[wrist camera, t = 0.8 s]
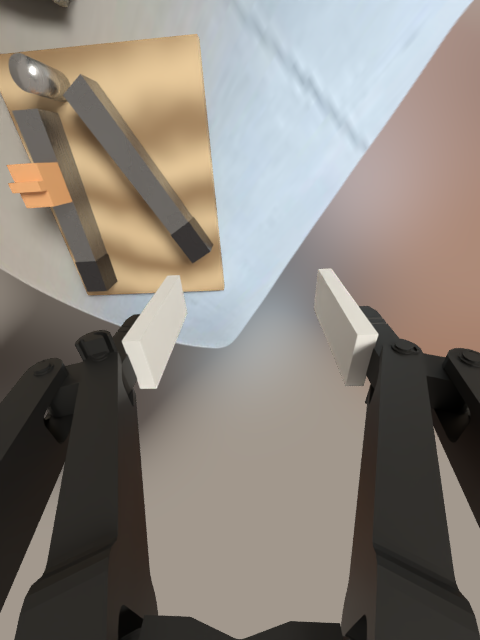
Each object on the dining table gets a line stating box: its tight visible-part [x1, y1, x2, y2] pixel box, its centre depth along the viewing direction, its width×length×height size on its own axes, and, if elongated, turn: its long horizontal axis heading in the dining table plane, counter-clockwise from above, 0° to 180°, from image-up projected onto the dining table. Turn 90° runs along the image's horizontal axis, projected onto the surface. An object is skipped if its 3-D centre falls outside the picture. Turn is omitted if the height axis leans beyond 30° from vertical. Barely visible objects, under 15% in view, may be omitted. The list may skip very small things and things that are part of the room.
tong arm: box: [63, 74, 214, 263], centre depth 27 cm, size 18×3×3 cm, turn 33°
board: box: [0, 34, 224, 295], centre depth 30 cm, size 25×20×1 cm
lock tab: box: [7, 162, 72, 208], centre depth 25 cm, size 4×3×4 cm
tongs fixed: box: [9, 53, 118, 292], centre depth 28 cm, size 22×5×4 cm, turn 3°
